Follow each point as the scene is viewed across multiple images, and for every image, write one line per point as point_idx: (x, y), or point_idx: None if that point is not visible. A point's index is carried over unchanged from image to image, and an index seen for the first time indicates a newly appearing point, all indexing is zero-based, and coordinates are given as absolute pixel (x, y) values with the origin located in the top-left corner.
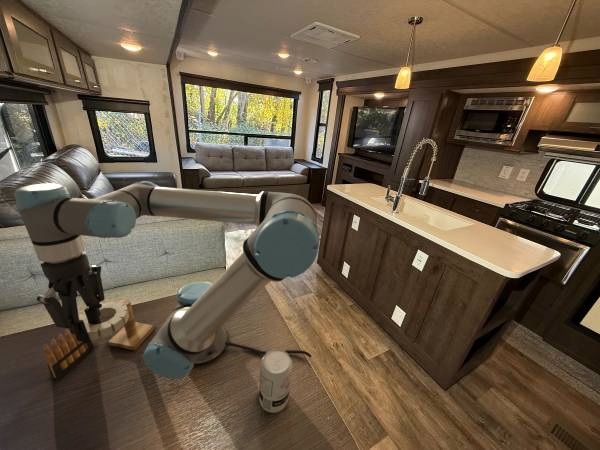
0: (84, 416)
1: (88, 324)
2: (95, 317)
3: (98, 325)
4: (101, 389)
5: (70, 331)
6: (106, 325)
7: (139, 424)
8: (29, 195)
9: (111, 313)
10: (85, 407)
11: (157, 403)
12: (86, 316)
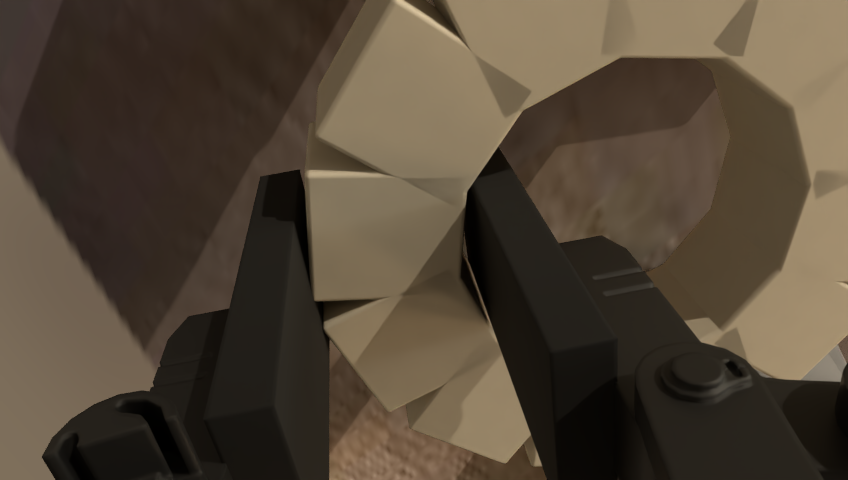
0: (156, 154)
1: (443, 232)
2: (520, 397)
3: (471, 349)
4: (294, 97)
5: (159, 373)
6: (499, 419)
7: None
8: None
9: (739, 137)
10: (186, 113)
11: (350, 387)
12: (503, 255)
